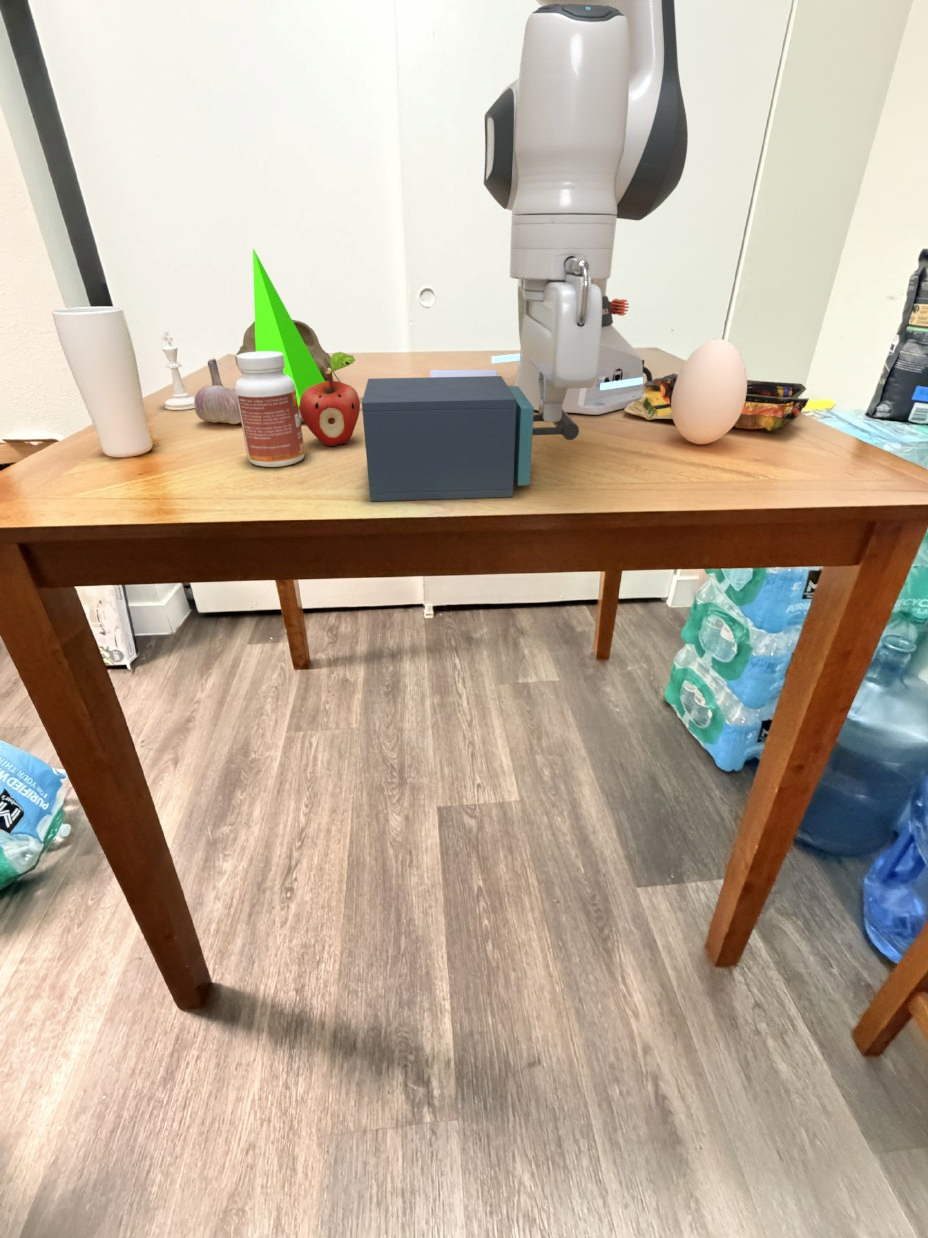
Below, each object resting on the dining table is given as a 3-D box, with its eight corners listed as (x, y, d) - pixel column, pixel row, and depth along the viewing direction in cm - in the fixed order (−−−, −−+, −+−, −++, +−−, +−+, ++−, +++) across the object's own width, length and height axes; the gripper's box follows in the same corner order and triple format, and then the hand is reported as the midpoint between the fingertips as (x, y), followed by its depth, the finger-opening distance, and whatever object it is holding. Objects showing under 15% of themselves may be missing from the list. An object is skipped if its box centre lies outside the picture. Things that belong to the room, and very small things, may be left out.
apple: (347, 454, 72) (337, 361, 66) (294, 449, 73) (280, 358, 68) (374, 436, 78) (367, 350, 73) (325, 432, 80) (315, 348, 74)
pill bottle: (314, 462, 69) (299, 355, 63) (259, 472, 66) (239, 361, 61) (294, 448, 74) (278, 347, 68) (241, 457, 71) (221, 352, 65)
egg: (653, 445, 74) (670, 340, 68) (679, 430, 79) (696, 332, 73) (722, 457, 70) (746, 346, 64) (743, 441, 75) (767, 337, 69)
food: (660, 371, 95) (657, 395, 97) (614, 393, 82) (611, 421, 84) (820, 384, 85) (812, 411, 87) (796, 412, 72) (788, 444, 74)
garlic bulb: (189, 421, 84) (174, 357, 80) (240, 412, 88) (229, 351, 84) (211, 432, 79) (196, 365, 75) (265, 422, 83) (254, 358, 79)
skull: (317, 383, 91) (287, 283, 88) (221, 415, 99) (189, 325, 95) (370, 381, 106) (346, 296, 103) (284, 410, 114) (259, 331, 110)
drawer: (558, 454, 68) (564, 384, 64) (579, 483, 60) (586, 406, 57) (400, 459, 67) (396, 388, 63) (399, 489, 59) (394, 410, 55)
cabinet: (499, 462, 69) (501, 375, 64) (512, 497, 60) (516, 398, 55) (375, 466, 68) (368, 378, 63) (370, 501, 59) (361, 402, 54)
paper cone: (208, 265, 86) (257, 436, 84) (209, 236, 81) (260, 418, 79) (290, 265, 90) (337, 427, 89) (295, 238, 85) (345, 410, 84)
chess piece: (179, 411, 90) (161, 335, 84) (158, 407, 92) (139, 333, 86) (208, 404, 93) (192, 331, 88) (186, 400, 95) (170, 329, 90)
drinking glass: (83, 457, 71) (34, 311, 63) (130, 441, 77) (91, 305, 69) (127, 463, 69) (83, 313, 61) (173, 447, 74) (137, 307, 67)
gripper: (631, 259, 46) (608, 448, 53) (572, 252, 63) (561, 395, 70) (545, 259, 45) (534, 449, 52) (510, 253, 63) (505, 396, 70)
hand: (549, 418), depth 61 cm, fingers closed
